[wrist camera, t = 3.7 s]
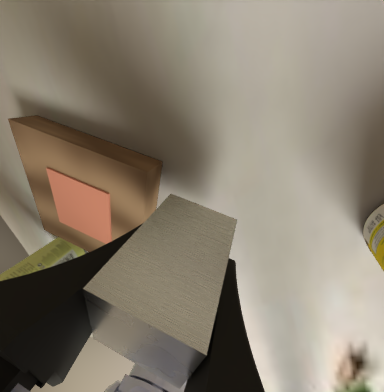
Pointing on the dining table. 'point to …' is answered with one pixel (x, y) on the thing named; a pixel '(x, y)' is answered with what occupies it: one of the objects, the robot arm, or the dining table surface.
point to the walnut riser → (85, 182)
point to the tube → (44, 258)
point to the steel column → (163, 289)
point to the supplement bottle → (375, 234)
